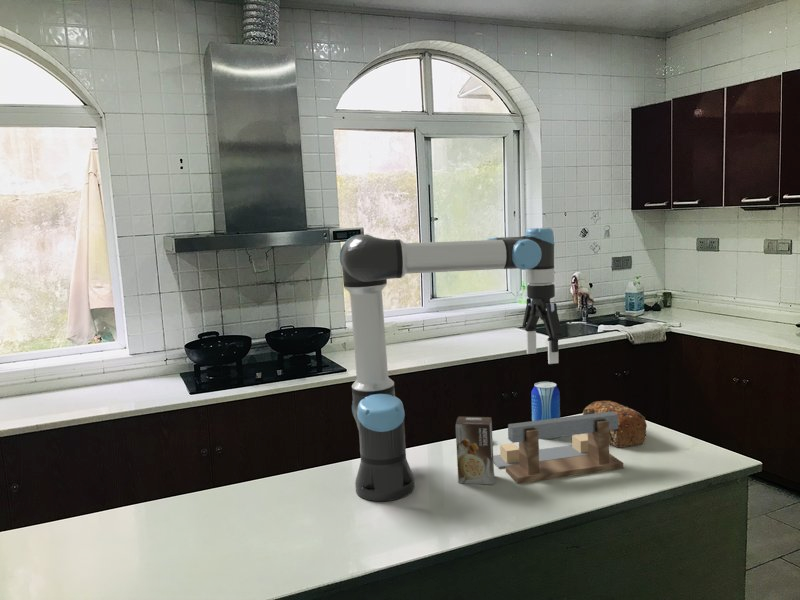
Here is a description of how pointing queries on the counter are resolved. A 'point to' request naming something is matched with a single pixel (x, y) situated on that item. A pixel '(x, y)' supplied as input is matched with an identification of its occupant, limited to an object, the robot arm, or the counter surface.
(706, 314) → the counter surface
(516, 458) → the slate mat with oak rests
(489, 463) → the coffee box
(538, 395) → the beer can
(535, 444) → the walnut rack
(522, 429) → the steel rail
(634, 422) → the bread
